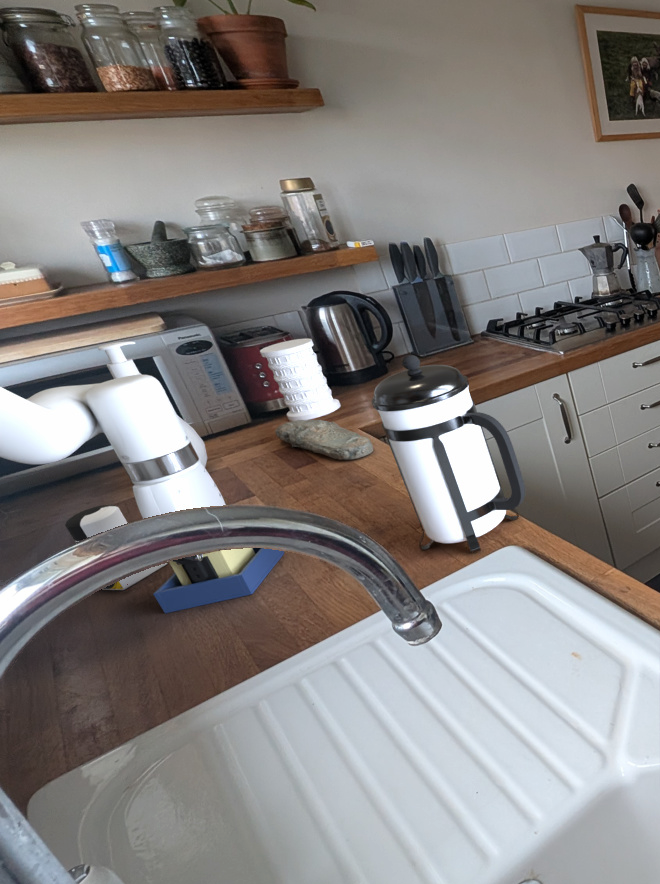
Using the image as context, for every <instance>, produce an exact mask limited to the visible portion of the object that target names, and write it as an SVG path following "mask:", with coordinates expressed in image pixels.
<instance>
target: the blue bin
mask: <svg viewBox="0 0 660 884" xmlns="http://www.w3.org/2000/svg"><path fill="white" fill-rule="evenodd" d="M253 550H254V552H255V554H256V555H255V556H254V557H253V558H252V559H251V561H250V562H249V563H248V564H247V565H246V566H245V568H244V569H243V570H242V571H241V572H240V573H239V574H236V575H231V576H226V577H222V578H217V579H212V580H208V581H203V582H198V583H194V584H189V585H184V586H182V584H181V582H180V580H179V579H178V577H177V575H176V573H175V572H174V573H173V574H172V575H171V576H170V577H168V579H166V580H165V582H164V583H162V585H161V586H160V587H158V589H156V590H155V591H154V592H153V596H154V597H155V599H156V601H157V603H158V604H159V606H160V608H161V610H162V611H163V612H164V614H169V613H174V612H179V611H183V610H187V609H192V608H196V607H201V606H206V605H210V604H215V603H220V602H224V601H228V600H232V599H237V598H242V597H246V596H250V595H253V594H254V593H255V591H256V590H257V589H258V588H259V586H260V585H261V584H262V583H263V581H264V580H265V579H266V577H267V576H268V575H269V574H270V572H271V571H272V570H273V568H274V567H275V566H276V565H277V563H278V562H279V561H280V560H281V559H282V557H283V556H284V555H285V551H284V550H283V551H279V550H272V549H264V548H253Z"/></svg>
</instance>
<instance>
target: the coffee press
mask: <svg viewBox="0 0 660 884" xmlns="http://www.w3.org/2000/svg"><path fill="white" fill-rule="evenodd" d="M420 365H421V359H419V358H418V356H416V355H413V354H408V355H405V356H404V357H403V359H402V364H401V366H403V367H404V370H402V371H399V372H396V373H393V374H391V375H389V376H387V377H386V378H384V379H382V380H381V381H380V382H379V383H377V385H376V387H375V388H374V391H373V398H372V399H371V401H370V403H371V405H372V408H374V410H375V411H377V412H378V414H379V416H380V419H381V422H382V423H381V427H382V430H383V432H384V435H385V437H386V440H387V442H388V445H389V448H390V451H391V453H392V456H393V458H394V461H395V463H396V467H397V468H398V471H399V474H400V477H401V479H402V482H403V484H404V487H405V489H406V492H407V494H408V496H409V500H410V502H411V504H412V508H413V510H414V513H415V515H416V517H417V520H418V523H419V526H420V528H421V531H422V533H421V535H420V538H419V540H418V547H419V549H420V550H422V551H427V550H429V549H430V548H431V547H432V545H433V544H434V543H435V542H436V543H440V544H457V543H462V542H467V544H468V548H469V551H470V553H471V555H473V554H476V553H479V552H481V551H482V549H481V546H480V543H479V541H478V538H479V537H481V536H483V535H485V534H487V533H489V532H490V531H492V530H493V529H495V528H496V527H497V526H498V525H499V524H500V523H501V522H502V521H503V520H504V519H507V520H510V521H516V520H518V519H519V517H520V514H519V512H518V509H516V508H517V507H519V506H520V505H521V504H522V503H523V502H524V500H525V497H526V487H525V481H524V478H523V475H522V471H521V468H520V464H519V461H518V459H517V455H516V451H515V449H514V446H513V443H512V440H511V437H510V436H509V434H508V432H507V430H506V429H505V427H504V426H503V424H501V422H500V421H499V420H498V419H496V418H495V417H494V416H492V415H489V414H487V413H485V412H480V411H479V412H478V410H477V407H476V404H475V401H474V399H472V397H471V394H470V391H469V390H470V389H469V386H470V381H469V379H468V377H467V376H466V375H463V373H462V372H461V371H460V370H459V369H458V368H456V367H453V366H451V365H447V364H428V365H421V366H420ZM483 428H484V429H486V430H487V431H488V432H489V433H490V434H491V436H492V437H493V438H494V440H495V442H496V445H497V448H498V450H499V454H500V457H501V460H502V463H503V467H504V470H505V473H506V476H507V480H508V482H509V486H510V490H511V495H510V497H506V496H505V493H504V490H503V488H502V484H501V480H500V478H499V475H498V472H497V470H496V466H495V462H494V459H493V457H492V453H491V450H490V448H489V445H488V441H487V438H486V435H485V431H484V429H483ZM510 510H511V511H512V512H514V513H515V515H517V516H515V515H513V516H511V515H509V514H507V511H510ZM425 534H426V536H427V537H428V538H429V539H430V541H429V542H428V543H427V544H425V545H423V544H422V542H423V540H424V538H425Z"/></svg>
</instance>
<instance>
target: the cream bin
mask: <svg viewBox="0 0 660 884" xmlns="http://www.w3.org/2000/svg"><path fill="white" fill-rule="evenodd" d="M255 555H256V554H255V552H254V550H253V548H243V549H231V550H220V551H214V552H210V553H205V554H203V557H206V556H208V558H209V560H210V562H211V563H212V565H213V567H214V569H215V571H216V573H217V575H218V576H219V578H222V577H226V576H231V575H236V574H239V573H240V572H241V571H242V570H243V569H244V568H245V566H246V565H247V564H248V563H249V562H250V561H251V559H252V558H253V557H254V556H255ZM168 563H169V565H170V566H171V567H172V568H171V569H172V570H173V572H174V573H176V575H177V577H178V579H179V580H180V582H181V584H182V586H184V585H189V584H192V583H191V581H190V580H189V578H188V576H187V574H186V572H185V571H184V569H183V567H182V565H178V564H177V563H176V562H173V561H171V560H170V561H168Z"/></svg>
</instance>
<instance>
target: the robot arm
mask: <svg viewBox="0 0 660 884" xmlns="http://www.w3.org/2000/svg"><path fill="white" fill-rule="evenodd" d="M164 390H165V389H164V387H163V385H162V383H161V382H160V381H159V380H158V379H157V378H156V377H154V376H153V375H149V374H142V375H132V376H126V377H121V378H117V379H114V378H113V379H110V380H106V381H103V382H98V383H90V384H78V385H66V386H65V385H64V386H56V387H51V388H46V389H44V390H41V391H39V392H37V393H35V394H33V395H30V397H28V398H24V397H21V396H20V395H18V394H16V393H14V392H12V391H10V390H7V389H6V388H5V387H3V386H0V458H2V459H5V460H8V461H11V462H16V463H19V464H26V465H47V464H53V463H56V462H59V461H61V460H64V459H66V458H68V457H69V456H71V455H72V454H73V453H74V452H75V453H76V451H78V449H79V448H81V446H83V445H84V444H85V443H86V442H88V441H90V440H91V439H93V438H94V437H96V436H98V435H100V434H102V433H103V434H104V436H106V438H107V440H108V442H109V444H110V445H111V447H112V449H113V452H115V454H116V457H117V458H118V460H119V461H120V463H121V465H122V467H123V468H124V470H125V472H126V474H127V476H128V477H129V479H130V480H131V482H132V484H133V486H132V492H133V496H134V500H135V502H136V505H137V508H138V511H139V513H140V515H141V518H142V520H143V519H144V518H148V517H152V516H156V515H161V514H165V513H169V512H175V511H180V510H186V509H193V508H201V507H210V506H223V505H228V506H229V499H228V498H227V497H226V496H223V495H222V493H221V492H220V490H219V487H218V486H217V484H216V483H215V481H214V479H213V478H212V476H211V474H210V473H209V471H208V470H207V468H206V467H205V468H204V466H203V465H202V464H201V461H200V459H199V457H198V455H197V453H196V451H195V449H194V447H193V445H192V444H191V442H190V440H189V438H188V436H187V434H186V432H185V430H184V428H183V426H182V424H181V422H180V420H179V418H178V416H179V415H178V414H177V412H176V410H175V408H174V406H173V404H172V402H171V400H170V399H169V397H168V395H167V392H166V390H165V391H164ZM177 415H178V416H177ZM173 562H176V563H177V564H178V565H182V567H183V569H184V571H185V572H186V574H187V576H188V578H189V580H190V581H191V583H192V584H194V583H198V582H203V581H208V580H212V579H217V578H219V576H218V575H217V573H216V571H215V569H214V567H213V565H212V563H211V562H210V560H209V558H208V556H206V557H203V554H198V555H195V556H191V557H185V558H182V559H178V560H173Z"/></svg>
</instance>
